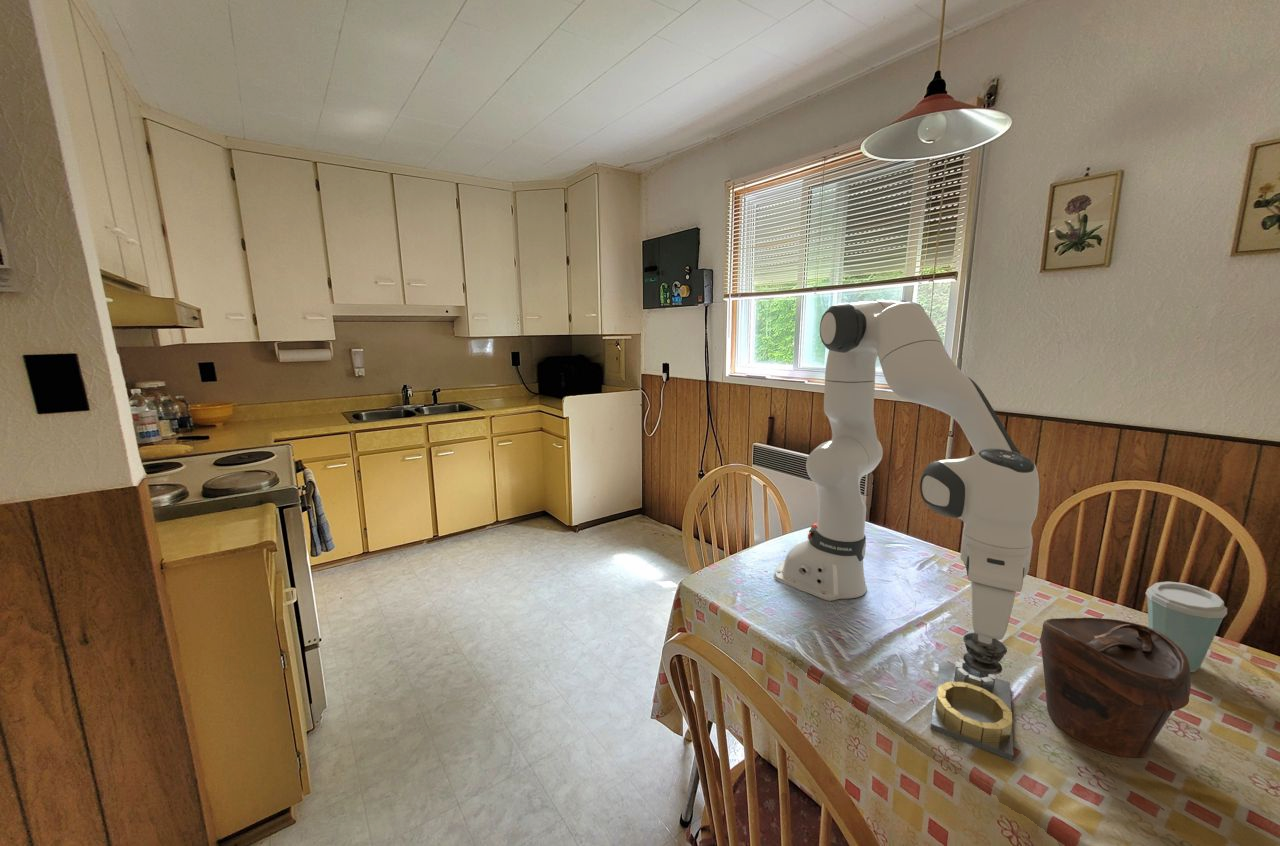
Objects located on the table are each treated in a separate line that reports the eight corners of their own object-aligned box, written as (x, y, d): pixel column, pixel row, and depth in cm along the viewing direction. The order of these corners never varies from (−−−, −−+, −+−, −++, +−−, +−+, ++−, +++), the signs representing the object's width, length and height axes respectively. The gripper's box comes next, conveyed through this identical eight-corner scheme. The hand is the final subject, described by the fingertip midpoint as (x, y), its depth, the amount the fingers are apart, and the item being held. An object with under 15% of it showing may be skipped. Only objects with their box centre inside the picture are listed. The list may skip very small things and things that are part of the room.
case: (1169, 717, 84) (1188, 621, 81) (1184, 801, 70) (1209, 689, 66) (1035, 671, 96) (1047, 586, 92) (1025, 735, 81) (1038, 637, 78)
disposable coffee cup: (1189, 685, 91) (1206, 611, 88) (1120, 649, 102) (1133, 582, 99) (1226, 674, 94) (1244, 602, 91) (1155, 640, 104) (1170, 574, 101)
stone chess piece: (1012, 677, 78) (1021, 608, 76) (970, 673, 79) (979, 604, 77) (993, 653, 83) (1001, 588, 81) (954, 650, 85) (962, 585, 82)
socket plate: (930, 728, 82) (932, 710, 82) (939, 664, 98) (941, 648, 97) (1012, 760, 76) (1015, 741, 75) (1009, 687, 91) (1011, 670, 91)
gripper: (972, 527, 88) (964, 598, 90) (968, 575, 71) (958, 660, 74) (1016, 535, 84) (1007, 609, 87) (1023, 587, 68) (1010, 676, 70)
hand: (984, 633), depth 80 cm, fingers closed on stone chess piece, 3 cm apart
